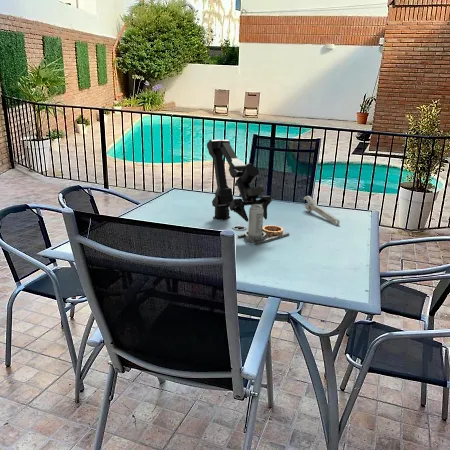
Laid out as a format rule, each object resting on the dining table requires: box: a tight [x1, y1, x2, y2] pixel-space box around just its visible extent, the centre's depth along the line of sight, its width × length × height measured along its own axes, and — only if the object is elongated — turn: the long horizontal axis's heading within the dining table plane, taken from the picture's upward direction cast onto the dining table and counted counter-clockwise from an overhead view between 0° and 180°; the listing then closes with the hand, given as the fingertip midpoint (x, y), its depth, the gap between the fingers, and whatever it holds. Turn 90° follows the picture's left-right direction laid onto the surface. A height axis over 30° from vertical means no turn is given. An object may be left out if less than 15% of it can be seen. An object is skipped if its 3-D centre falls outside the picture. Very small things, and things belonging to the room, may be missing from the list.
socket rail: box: [237, 224, 290, 246], centre depth 189 cm, size 21×12×2 cm, turn 132°
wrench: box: [303, 195, 341, 226], centre depth 221 cm, size 8×2×30 cm
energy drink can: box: [247, 204, 264, 237], centre depth 184 cm, size 6×6×15 cm
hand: (257, 220), depth 182 cm, fingers open, 9 cm apart
